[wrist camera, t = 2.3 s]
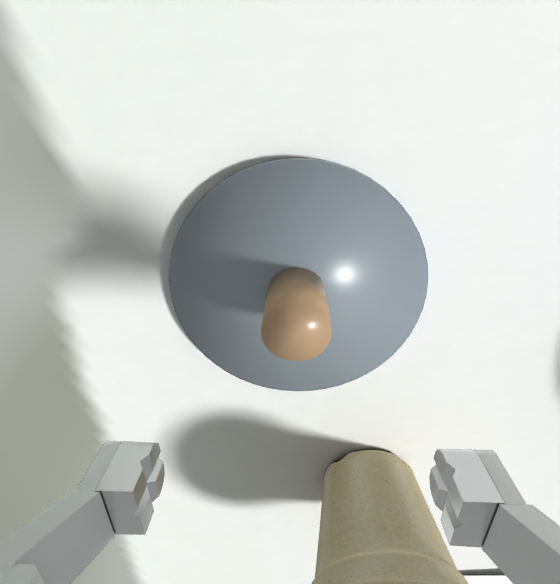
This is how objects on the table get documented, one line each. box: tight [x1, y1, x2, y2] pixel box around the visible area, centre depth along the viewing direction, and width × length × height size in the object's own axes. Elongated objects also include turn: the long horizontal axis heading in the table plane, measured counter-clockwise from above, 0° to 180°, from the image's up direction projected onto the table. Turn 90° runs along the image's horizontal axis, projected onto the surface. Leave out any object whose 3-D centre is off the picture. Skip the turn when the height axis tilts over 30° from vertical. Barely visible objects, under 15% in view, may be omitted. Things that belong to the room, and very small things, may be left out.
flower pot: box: [312, 450, 468, 584], centre depth 22 cm, size 9×9×9 cm
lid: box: [169, 158, 428, 391], centre depth 17 cm, size 13×13×4 cm
